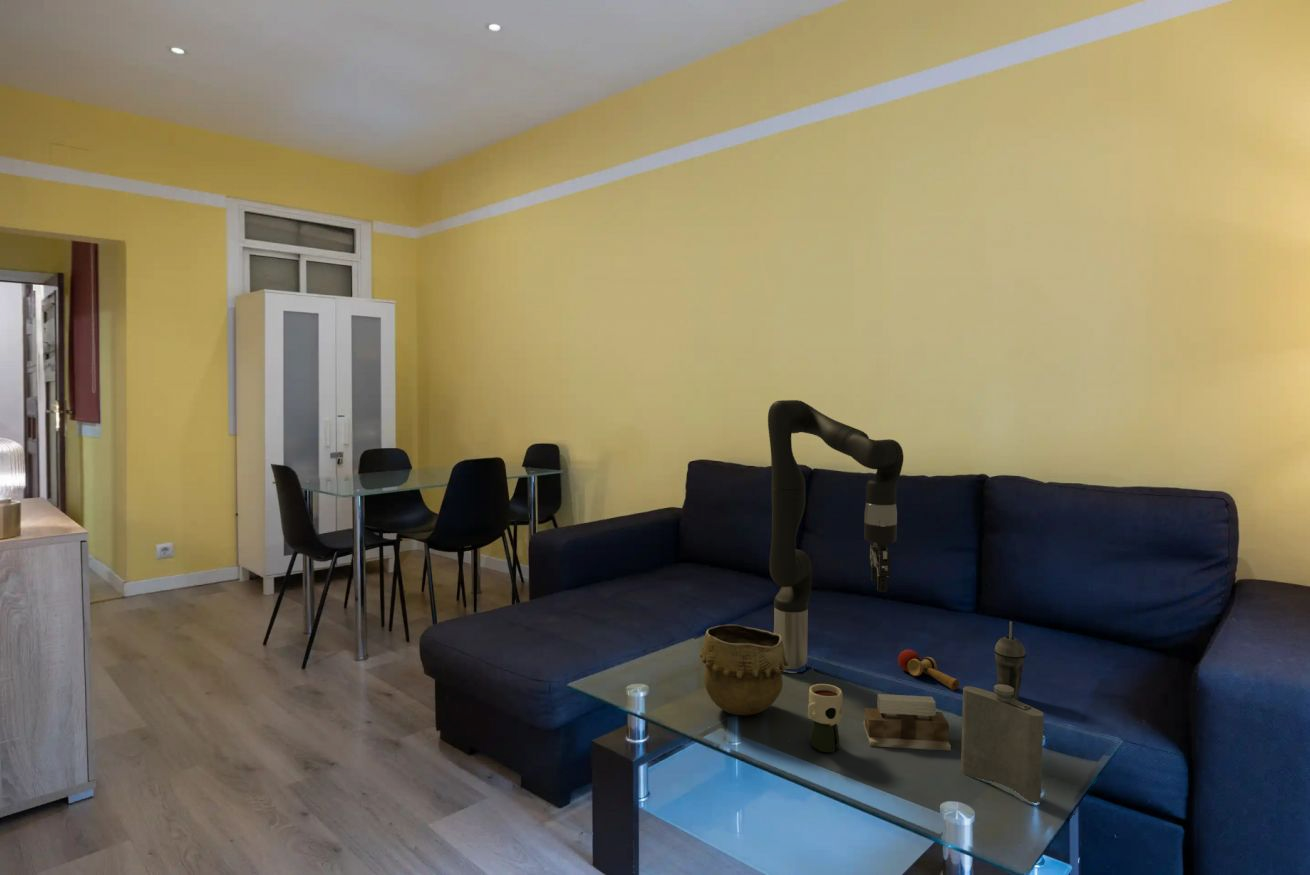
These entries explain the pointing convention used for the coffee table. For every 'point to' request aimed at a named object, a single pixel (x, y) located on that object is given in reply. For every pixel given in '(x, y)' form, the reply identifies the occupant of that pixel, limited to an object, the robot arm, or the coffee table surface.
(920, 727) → the brown wooden block
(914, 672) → the kendama
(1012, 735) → the hip flask
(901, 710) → the clip
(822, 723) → the character mug
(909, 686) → the coffee table surface
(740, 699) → the clay pot
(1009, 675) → the beverage cup
